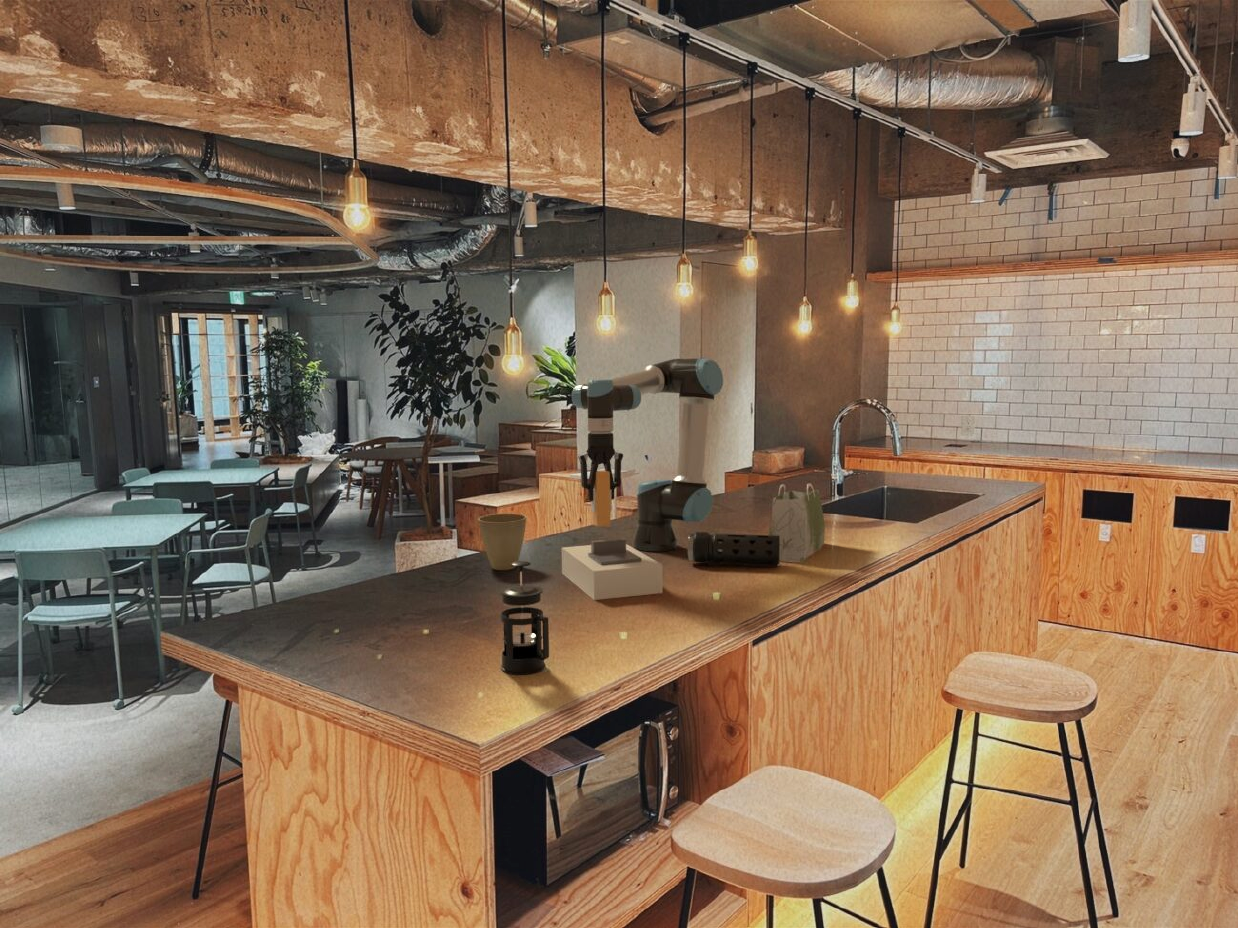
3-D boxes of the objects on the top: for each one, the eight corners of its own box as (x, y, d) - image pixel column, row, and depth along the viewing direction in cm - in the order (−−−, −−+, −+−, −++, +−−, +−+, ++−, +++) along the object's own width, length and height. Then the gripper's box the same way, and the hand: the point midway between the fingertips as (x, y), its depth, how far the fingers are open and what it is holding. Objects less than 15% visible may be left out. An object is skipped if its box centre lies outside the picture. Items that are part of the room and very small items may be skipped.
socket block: (561, 573, 274) (561, 547, 273) (623, 567, 281) (623, 542, 280) (594, 599, 244) (593, 571, 244) (662, 592, 251) (662, 564, 250)
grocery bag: (786, 540, 319) (787, 475, 316) (826, 543, 313) (827, 477, 310) (761, 559, 290) (762, 488, 287) (804, 563, 284) (806, 491, 281)
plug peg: (593, 524, 268) (592, 470, 266) (605, 523, 270) (605, 470, 268) (597, 526, 265) (596, 472, 263) (610, 525, 266) (609, 471, 264)
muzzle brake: (778, 571, 275) (778, 537, 274) (687, 567, 281) (687, 535, 279) (779, 564, 284) (779, 531, 283) (691, 560, 290) (691, 529, 289)
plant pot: (489, 561, 291) (487, 512, 289) (533, 562, 288) (532, 513, 286) (472, 572, 277) (471, 521, 275) (518, 574, 274) (517, 522, 272)
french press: (489, 669, 192) (486, 563, 189) (517, 656, 200) (514, 554, 197) (533, 679, 185) (530, 570, 183) (560, 666, 193) (558, 561, 190)
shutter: (588, 555, 261) (587, 541, 261) (627, 552, 265) (626, 537, 265) (601, 564, 250) (600, 549, 250) (641, 560, 254) (641, 546, 254)
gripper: (576, 434, 258) (577, 515, 260) (632, 432, 263) (632, 511, 266) (568, 432, 265) (570, 510, 267) (623, 430, 270) (624, 507, 273)
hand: (601, 510), depth 267 cm, fingers closed on plug peg, 4 cm apart
